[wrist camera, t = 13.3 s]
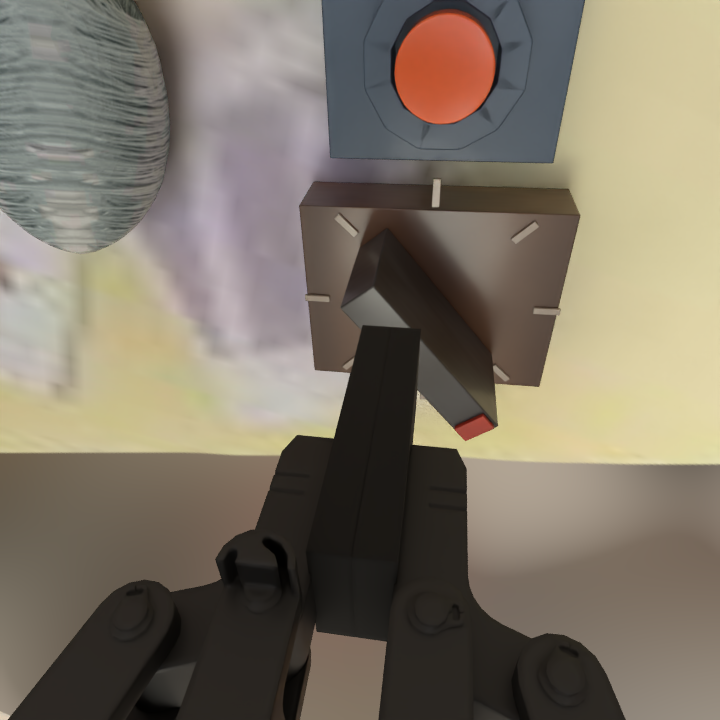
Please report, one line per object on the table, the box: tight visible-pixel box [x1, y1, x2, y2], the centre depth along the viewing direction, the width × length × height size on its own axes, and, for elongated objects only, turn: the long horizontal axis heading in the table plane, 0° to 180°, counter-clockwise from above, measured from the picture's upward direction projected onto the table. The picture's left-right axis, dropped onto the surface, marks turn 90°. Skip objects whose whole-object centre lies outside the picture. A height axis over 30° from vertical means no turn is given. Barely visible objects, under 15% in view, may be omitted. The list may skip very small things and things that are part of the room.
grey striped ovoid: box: [0, 0, 170, 254], centre depth 26 cm, size 14×10×10 cm
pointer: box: [340, 228, 498, 441], centre depth 28 cm, size 10×2×6 cm, turn 40°
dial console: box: [299, 178, 580, 399], centre depth 32 cm, size 14×14×4 cm
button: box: [394, 9, 495, 124], centre depth 22 cm, size 4×4×2 cm
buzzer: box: [322, 0, 585, 163], centre depth 24 cm, size 11×9×4 cm
